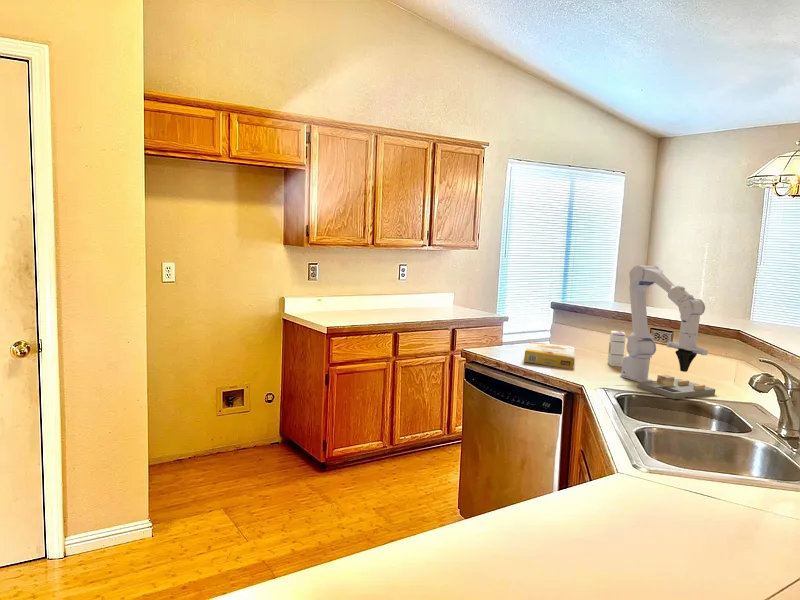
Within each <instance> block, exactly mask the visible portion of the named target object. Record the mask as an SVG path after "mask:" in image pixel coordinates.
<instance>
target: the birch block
mask: <svg viewBox="0 0 800 600" xmlns="http://www.w3.org/2000/svg"><path fill="white" fill-rule="evenodd" d="M674 379H675V376H672V375H668V374H666V373H665V374H657V377H656V381H657V383H658V384H662V385H665V386H670V385H674Z"/></svg>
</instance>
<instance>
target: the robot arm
mask: <svg viewBox="0 0 800 600" xmlns="http://www.w3.org/2000/svg"><path fill="white" fill-rule="evenodd" d="M654 284H656V285H657V286H659V287H660V288H661V289H662V290H663V291H665V292H666V293H667V297H668V299H669V300H670V301H671V302H672V303H673V304H674V305H676V306H677V308H678V312H679V314H680V317H679V318H680V320H681V321H680V328H679V334H678V342H674V341H667V344H666V348H670V349H672V348H673V349H676V350H675V355H676V357H677V360H678V363H679V371H680V372H683V373H686V372H688V370H689V368H690V366H691V364H692V362H693V361H694V359H695V358H696V357H697V355H700V356H708V352H709V351H708V349H706V348H702V347H699V346H697V343H698V335H699V334H698V333H699V328H700V327H699V326H700V321H701V320H700V319H701V316H702V315H703V314H704V312H705V310H706V305H705V303H704V301H703V300H702V299H699V298H696V297H695V298H694V295H692V294H690V293H689V292H688V291H687V290H686V288H685V287H684V286H680V285H675V284H674V283H673V282H672V281H671V280H670V279H669V278H668V277H667V276H666V275H665V274H664V273H663V270H662V269H661V268H660V267H658V266H656V265H641V264H640V265H639V264H635V265H634V266H632V268H631V269H630V271H629V299H630V300H629V301H630V309H631V310H630V311H631V323H632V325H631V326H632V332H631V333H630V334H629V335H628V336H627V344H626V346H625V348H626V352H627V354H626V355H624V359H623V363H622V367H621V374H619V377H621V378H625V379H628V380H631V381H634V382H637V383H638V382H647V381H654V380H653V379H652V378H649V372H650V364H651V363H650V362H651V359H652V357H653V355H655V354H656V351H657V344H656V342H655V340H654V339H655V337H654V335H653V334H651V332H649V326H648V313H647V302H646V290H647V289H649V288H650V287H651V286H653V285H654Z"/></svg>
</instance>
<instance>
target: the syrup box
mask: <svg viewBox="0 0 800 600" xmlns="http://www.w3.org/2000/svg"><path fill="white" fill-rule="evenodd" d="M626 336H627V335H626V333H625V332H624V331H622V330H610V333H609V343H608V352H607V353H608V354H607V364H608V365H609V366H610V367H618V368H622V363H623V359H624V357H625V348H626V338H627V337H626Z"/></svg>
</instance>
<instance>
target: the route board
mask: <svg viewBox="0 0 800 600" xmlns="http://www.w3.org/2000/svg"><path fill="white" fill-rule="evenodd" d="M637 383H638V384H637V388H638V389H641V388H642V389H641V390H644V389H645V390H644V391H647V390H648V391H647V392H650V391H651V392H650V393H653V392H654V393H653V394H656V393H658V394H657V395H660V394H661V396H663V395H664V396H663V397H666V398H670V399H672V400H678V399H686V398H685V397H688V398H695V397H696V396H697V397H703V396H704V397H705V395H706V396H713V395H714V394H715V395H716V388H713V387H709V386H706V385H705V384H698V383H694V382H692V381H690V380H688V379H687V380H686V379H685V380H684V379H680V378H674V385H670V386H665V385H662V384H658V383H657V380H653V381H645V382H637Z"/></svg>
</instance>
